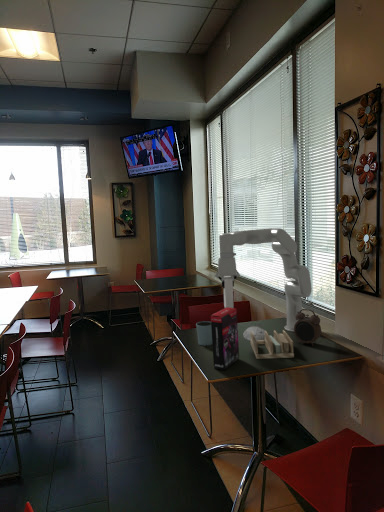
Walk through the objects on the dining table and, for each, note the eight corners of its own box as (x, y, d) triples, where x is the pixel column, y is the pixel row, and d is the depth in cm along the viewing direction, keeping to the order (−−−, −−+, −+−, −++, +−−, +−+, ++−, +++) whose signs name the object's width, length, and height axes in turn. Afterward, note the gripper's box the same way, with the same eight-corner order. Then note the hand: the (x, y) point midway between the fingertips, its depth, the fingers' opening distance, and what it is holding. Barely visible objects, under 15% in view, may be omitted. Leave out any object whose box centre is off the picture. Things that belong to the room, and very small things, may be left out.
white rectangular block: (231, 305, 215) (229, 275, 213) (233, 312, 199) (232, 279, 197) (224, 305, 215) (223, 275, 213) (226, 312, 199) (225, 280, 197)
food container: (259, 329, 239) (258, 319, 238) (278, 343, 215) (277, 332, 214) (237, 334, 235) (236, 324, 234) (253, 349, 211) (252, 338, 210)
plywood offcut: (282, 345, 208) (281, 333, 208) (288, 355, 194) (288, 342, 193) (278, 345, 209) (277, 333, 208) (284, 355, 194) (283, 342, 193)
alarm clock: (292, 343, 211) (292, 309, 209) (298, 339, 216) (298, 306, 214) (316, 348, 201) (316, 312, 199) (322, 344, 206) (322, 309, 204)
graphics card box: (224, 371, 177) (222, 316, 174) (212, 368, 180) (209, 314, 178) (239, 359, 191) (237, 308, 188) (227, 356, 195) (225, 306, 192)
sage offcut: (271, 345, 209) (271, 335, 209) (280, 355, 193) (280, 344, 193) (267, 345, 209) (266, 335, 208) (276, 356, 193) (276, 345, 193)
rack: (283, 342, 212) (283, 329, 211) (293, 357, 190) (293, 342, 189) (250, 344, 212) (250, 330, 211) (256, 358, 190) (256, 343, 190)
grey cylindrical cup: (204, 347, 211) (204, 327, 209) (193, 343, 218) (192, 323, 217) (217, 342, 217) (216, 323, 216) (205, 339, 225) (204, 319, 224)
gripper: (240, 254, 208) (242, 285, 210) (211, 255, 208) (212, 287, 210) (242, 255, 200) (243, 288, 202) (211, 256, 200) (213, 289, 202)
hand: (227, 287), depth 206 cm, fingers closed on white rectangular block, 4 cm apart
